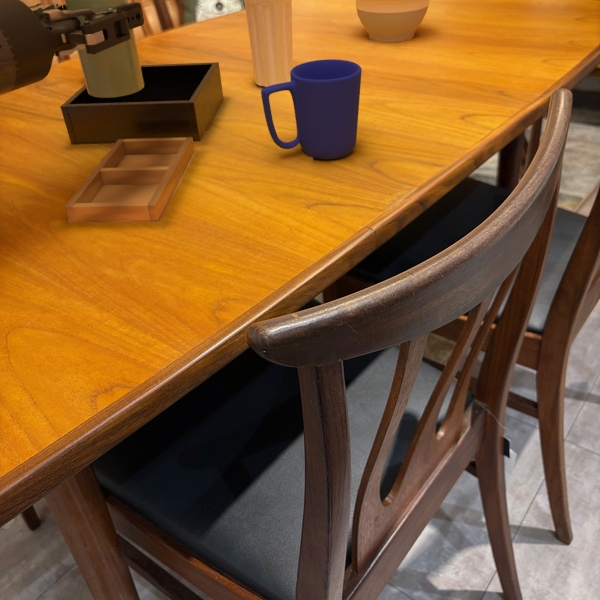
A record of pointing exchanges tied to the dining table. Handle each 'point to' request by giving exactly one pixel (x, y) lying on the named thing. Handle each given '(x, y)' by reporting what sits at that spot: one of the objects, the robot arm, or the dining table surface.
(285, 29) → the cup
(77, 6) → the tumbler
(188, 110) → the dark brown open box
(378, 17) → the bowl
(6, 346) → the dining table surface
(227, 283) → the dining table surface
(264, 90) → the mug
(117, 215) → the divided wooden tray
